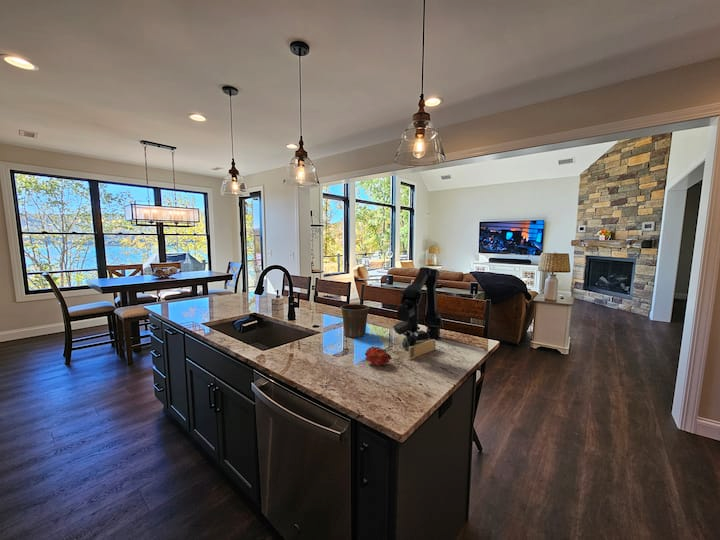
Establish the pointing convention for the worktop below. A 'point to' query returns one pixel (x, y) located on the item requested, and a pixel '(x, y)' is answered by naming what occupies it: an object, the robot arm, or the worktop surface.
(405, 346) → the action camera body
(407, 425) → the worktop surface
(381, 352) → the dragon fruit
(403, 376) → the worktop surface
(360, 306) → the plant pot
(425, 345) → the side door
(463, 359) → the worktop surface
